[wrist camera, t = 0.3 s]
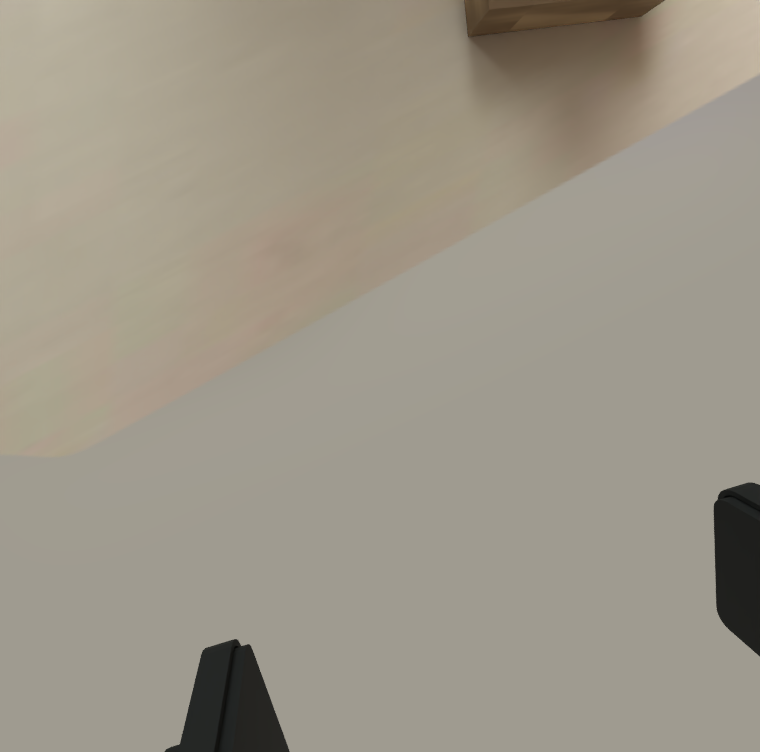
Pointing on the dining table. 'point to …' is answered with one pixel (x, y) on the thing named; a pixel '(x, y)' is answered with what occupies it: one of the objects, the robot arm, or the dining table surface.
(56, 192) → the dining table surface
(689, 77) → the dining table surface
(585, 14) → the collar
